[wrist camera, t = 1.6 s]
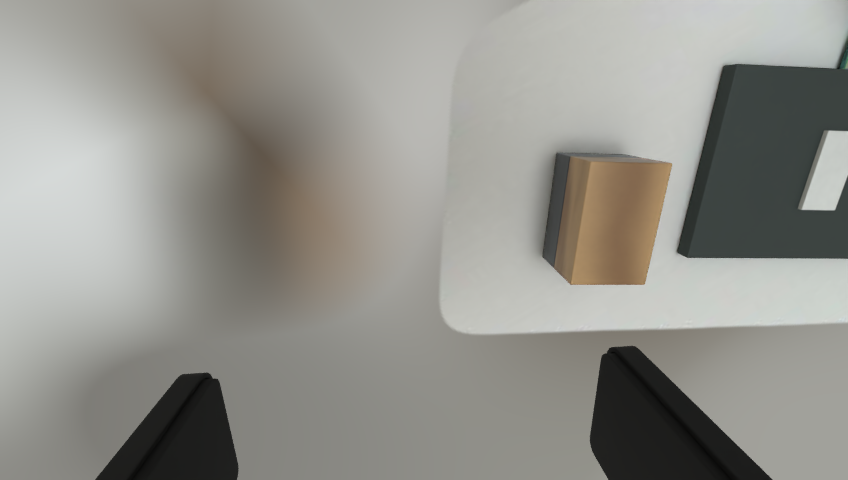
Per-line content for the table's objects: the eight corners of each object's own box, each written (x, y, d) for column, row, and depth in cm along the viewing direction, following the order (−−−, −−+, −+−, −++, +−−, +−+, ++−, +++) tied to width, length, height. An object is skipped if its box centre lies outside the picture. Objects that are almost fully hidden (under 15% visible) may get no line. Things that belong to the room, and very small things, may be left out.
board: (676, 252, 27) (687, 257, 26) (723, 65, 24) (737, 64, 23) (932, 254, 29) (950, 259, 28) (1014, 79, 25) (1038, 78, 24)
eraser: (542, 257, 27) (570, 285, 22) (556, 152, 24) (590, 161, 20) (605, 257, 27) (645, 285, 23) (625, 154, 25) (672, 163, 21)
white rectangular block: (797, 208, 26) (801, 209, 26) (823, 130, 24) (828, 130, 24) (830, 209, 26) (835, 210, 26) (858, 131, 24) (864, 131, 24)
